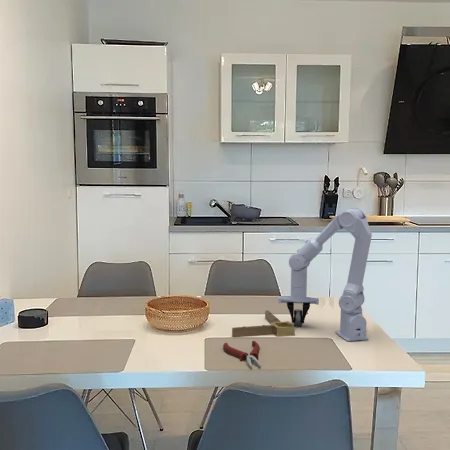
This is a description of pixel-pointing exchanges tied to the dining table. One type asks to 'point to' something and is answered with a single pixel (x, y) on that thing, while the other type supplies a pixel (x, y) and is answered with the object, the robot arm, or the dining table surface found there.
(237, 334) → the hinge
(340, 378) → the dining table surface
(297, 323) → the hinge pin
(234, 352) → the pliers
